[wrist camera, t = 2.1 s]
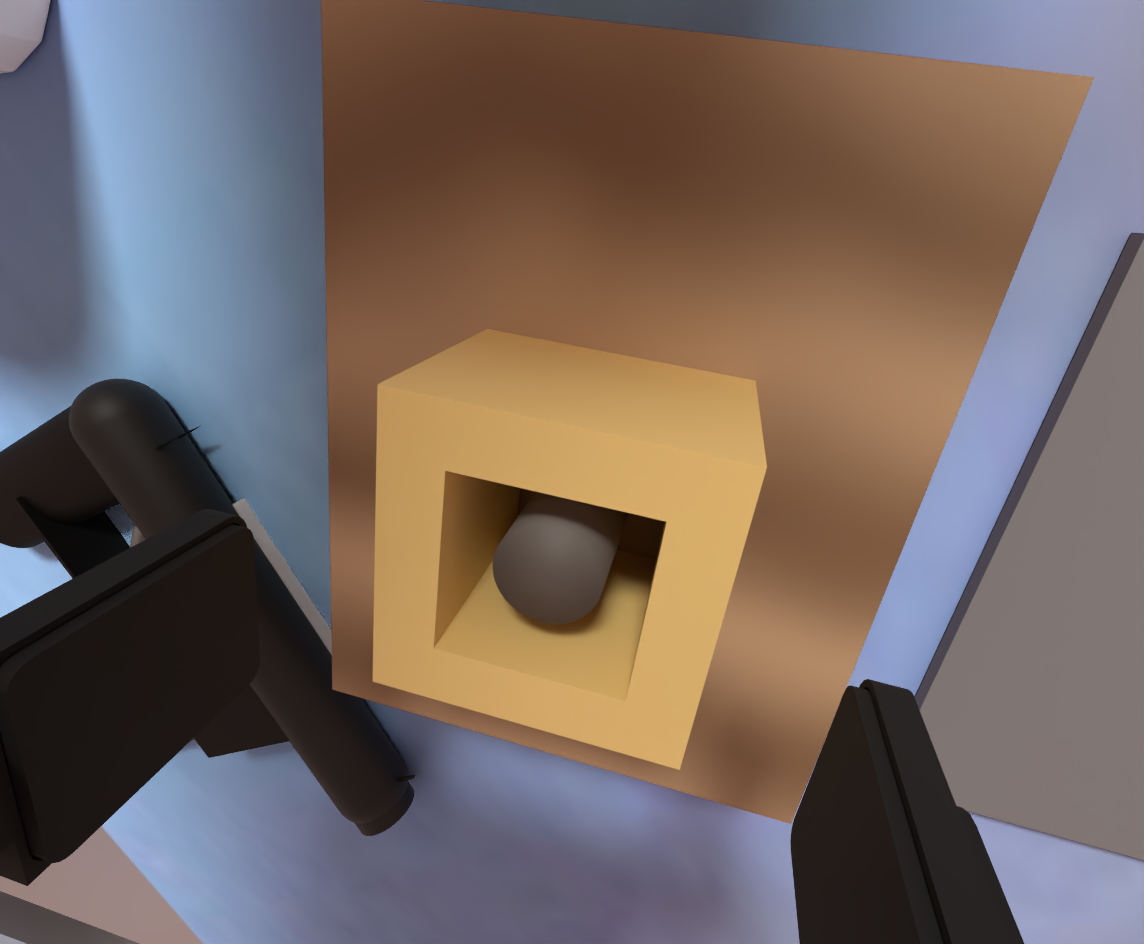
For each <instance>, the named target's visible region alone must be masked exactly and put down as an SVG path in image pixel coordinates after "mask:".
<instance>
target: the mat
mask: <svg viewBox="0 0 1144 944" xmlns="http://www.w3.org/2000/svg"><path fill="white" fill-rule="evenodd" d="M915 700H916V702H917V705H918V708H919V710H920V713H921V715H922V718H923V720H924V723H925V726H926V728H927V731H928V733H929V736H930V739H931V741H932V744H933V746H934V749H935V752H936V754H937V757H938V759H939V762H940V765H941V767H942V770H943V772H944V775H945V778H946V780H947V783H948V785H949V788H950V790H951V793H952V796H953V798H954V801H955V803H956V806H959V807H962V808H964V809H965V810H966V811H969V812H973V813H976V814H980V815H983V816H987V817H991V818H994V819H998V820H1001V821H1005V822H1009V823H1012V824H1016V825H1019V826H1023V827H1026V828H1030V829H1034V830H1037V831H1041V832H1044V833H1048V834H1052V835H1055V836H1059V837H1062V838H1066V839H1069V840H1073V841H1077V842H1080V843H1084V844H1087V845H1091V846H1095V847H1098V848H1102V849H1105V850H1109V851H1113V852H1116V853H1120V854H1123V855H1127V856H1130V857H1134V858H1138V859H1141V860H1144V234H1142V233H1131V235H1130V237H1129V239H1128V241H1127V244H1126V246H1125V248H1124V250H1123V252H1122V254H1121V256H1120V259H1119V261H1118V263H1117V265H1116V267H1115V269H1114V271H1113V274H1112V276H1111V278H1110V280H1109V282H1108V284H1107V286H1106V289H1105V291H1104V293H1103V295H1102V297H1101V299H1100V302H1099V304H1098V306H1097V308H1096V310H1095V312H1094V314H1093V317H1092V319H1091V321H1090V323H1089V325H1088V327H1087V329H1086V332H1085V334H1084V336H1083V338H1082V340H1081V342H1080V344H1079V347H1078V349H1077V351H1076V353H1075V355H1074V357H1073V359H1072V362H1071V364H1070V366H1069V368H1068V370H1067V372H1066V374H1065V377H1064V379H1063V381H1062V383H1061V385H1060V387H1059V389H1058V392H1057V394H1056V396H1055V398H1054V400H1053V402H1052V404H1051V407H1050V409H1049V411H1048V413H1047V415H1046V417H1045V419H1044V422H1043V424H1042V426H1041V428H1040V430H1039V432H1038V434H1037V437H1036V439H1035V441H1034V443H1033V445H1032V447H1031V449H1030V452H1029V454H1028V456H1027V458H1026V460H1025V462H1024V465H1023V467H1022V469H1021V471H1020V473H1019V475H1018V477H1017V480H1016V482H1015V484H1014V486H1013V488H1012V490H1011V492H1010V495H1009V497H1008V499H1007V501H1006V503H1005V505H1004V507H1003V510H1002V512H1001V514H1000V516H999V518H998V520H997V522H996V525H995V527H994V529H993V531H992V533H991V535H990V537H989V540H988V542H987V544H986V546H985V548H984V550H983V552H982V555H981V557H980V559H979V561H978V563H977V565H976V567H975V570H974V572H973V574H972V576H971V578H970V580H969V582H968V585H967V587H966V589H965V591H964V593H963V595H962V597H961V600H960V602H959V604H958V606H957V608H956V610H955V613H954V615H953V617H952V619H951V621H950V623H949V625H948V628H947V630H946V632H945V634H944V636H943V638H942V640H941V643H940V645H939V647H938V649H937V651H936V653H935V655H934V658H933V660H932V662H931V664H930V666H929V668H928V670H927V673H926V675H925V677H924V679H923V681H922V683H921V685H920V688H919V690H918V692H917V694H916V696H915Z"/></svg>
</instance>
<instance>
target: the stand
mask: <svg viewBox="0 0 1144 944" xmlns="http://www.w3.org/2000/svg"><path fill="white" fill-rule="evenodd" d="M321 13H322V75H323V137H324V199H325V262H326V324H327V386H328V449H329V511H330V573H331V635H332V689H333V690H336V691H339V692H343V693H346V694H350V695H353V696H357V697H360V698H363V699H367V700H370V701H374V702H377V703H380V704H384V705H387V706H391V707H394V708H397V709H401V710H404V711H408V712H411V713H415V714H418V715H421V716H425V717H428V718H432V719H435V720H438V721H442V722H445V723H449V724H452V725H455V726H459V727H462V728H466V729H469V730H473V731H476V732H479V733H483V734H486V735H490V736H493V737H496V738H500V739H503V740H507V741H510V742H514V743H517V744H520V745H524V746H527V747H531V748H534V749H537V750H541V751H544V752H548V753H551V754H554V755H558V756H561V757H565V758H568V759H572V760H575V761H578V762H582V763H585V764H589V765H592V766H595V767H599V768H602V769H606V770H609V771H612V772H616V773H619V774H623V775H626V776H630V777H633V778H636V779H640V780H643V781H647V782H650V783H653V784H657V785H660V786H664V787H667V788H671V789H674V790H677V791H681V792H684V793H688V794H691V795H694V796H698V797H701V798H705V799H708V800H711V801H715V802H718V803H722V804H725V805H729V806H732V807H735V808H739V809H742V810H746V811H749V812H752V813H756V814H759V815H763V816H766V817H770V818H773V819H776V820H780V821H783V822H787V823H790V824H791V822H792V820H793V817H794V815H795V812H796V810H797V807H798V805H799V803H800V800H801V798H802V795H803V793H804V790H805V788H806V785H807V783H808V780H809V778H810V775H811V773H812V771H813V768H814V766H815V763H816V761H817V758H818V756H819V753H820V751H821V748H822V746H823V743H824V741H825V738H826V736H827V734H828V731H829V729H830V726H831V724H832V721H833V719H834V716H835V714H836V711H837V709H838V706H839V704H840V701H841V699H842V696H843V694H844V692H845V689H846V687H847V684H848V682H849V679H850V677H851V674H852V672H853V670H854V667H855V665H856V662H857V660H858V657H859V655H860V652H861V650H862V647H863V645H864V642H865V640H866V638H867V635H868V633H869V630H870V628H871V625H872V623H873V620H874V618H875V615H876V613H877V610H878V608H879V605H880V603H881V601H882V598H883V596H884V593H885V591H886V588H887V586H888V583H889V581H890V578H891V576H892V573H893V571H894V569H895V566H896V564H897V561H898V559H899V556H900V554H901V551H902V549H903V546H904V544H905V541H906V539H907V537H908V534H909V532H910V529H911V527H912V524H913V522H914V519H915V517H916V514H917V512H918V509H919V507H920V504H921V502H922V500H923V497H924V495H925V492H926V490H927V487H928V485H929V482H930V480H931V477H932V475H933V472H934V470H935V468H936V465H937V463H938V460H939V458H940V455H941V453H942V450H943V448H944V445H945V443H946V440H947V438H948V436H949V433H950V431H951V428H952V426H953V423H954V421H955V418H956V416H957V413H958V411H959V408H960V406H961V404H962V401H963V399H964V396H965V394H966V391H967V389H968V386H969V384H970V381H971V379H972V376H973V374H974V371H975V369H976V367H977V364H978V362H979V359H980V357H981V354H982V352H983V349H984V347H985V344H986V342H987V339H988V337H989V335H990V332H991V330H992V327H993V325H994V322H995V320H996V317H997V315H998V312H999V310H1000V307H1001V305H1002V303H1003V300H1004V298H1005V295H1006V293H1007V290H1008V288H1009V285H1010V283H1011V280H1012V278H1013V275H1014V273H1015V271H1016V268H1017V266H1018V263H1019V261H1020V258H1021V256H1022V253H1023V251H1024V248H1025V246H1026V243H1027V241H1028V238H1029V236H1030V234H1031V231H1032V229H1033V226H1034V224H1035V221H1036V219H1037V216H1038V214H1039V211H1040V209H1041V206H1042V204H1043V202H1044V199H1045V197H1046V194H1047V192H1048V189H1049V187H1050V184H1051V182H1052V179H1053V177H1054V174H1055V172H1056V170H1057V167H1058V165H1059V162H1060V160H1061V157H1062V155H1063V152H1064V150H1065V147H1066V145H1067V142H1068V140H1069V138H1070V135H1071V133H1072V130H1073V128H1074V125H1075V123H1076V120H1077V118H1078V115H1079V113H1080V110H1081V108H1082V105H1083V103H1084V101H1085V98H1086V96H1087V93H1088V91H1089V88H1090V86H1091V83H1092V81H1093V78H1094V77H1086V76H1078V75H1069V74H1060V73H1051V72H1043V71H1034V70H1025V69H1017V68H1008V67H999V66H990V65H982V64H973V63H964V62H955V61H947V60H938V59H929V58H921V57H912V56H903V55H894V54H886V53H877V52H868V51H859V50H851V49H842V48H833V47H825V46H816V45H807V44H798V43H790V42H781V41H772V40H763V39H755V38H746V37H737V36H728V35H720V34H711V33H702V32H694V31H685V30H676V29H667V28H659V27H650V26H641V25H632V24H624V23H615V22H606V21H598V20H589V19H580V18H571V17H563V16H554V15H545V14H536V13H528V12H519V11H510V10H502V9H493V8H484V7H475V6H467V5H458V4H449V3H440V2H432V1H423V0H321ZM486 329H491V330H496V331H501V332H506V333H512V334H517V335H522V336H527V337H532V338H537V339H543V340H548V341H553V342H558V343H563V344H569V345H574V346H579V347H584V348H589V349H594V350H600V351H605V352H610V353H615V354H620V355H625V356H631V357H636V358H641V359H646V360H651V361H656V362H662V363H667V364H672V365H677V366H682V367H687V368H693V369H698V370H703V371H708V372H713V373H719V374H724V375H729V376H734V377H739V378H744V379H750V380H755V381H756V387H757V395H758V402H759V410H760V417H761V425H762V433H763V440H764V448H765V456H766V463H767V469H766V473H765V476H764V479H763V483H762V486H761V490H760V493H759V497H758V500H757V504H756V507H755V511H754V514H753V518H752V521H751V524H750V528H749V531H748V535H747V538H746V542H745V545H744V549H743V552H742V556H741V559H740V563H739V566H738V570H737V573H736V576H735V580H734V583H733V587H732V590H731V594H730V597H729V601H728V604H727V608H726V611H725V615H724V618H723V621H722V625H721V628H720V632H719V635H718V639H717V642H716V646H715V649H714V653H713V656H712V660H711V663H710V666H709V670H708V673H707V677H706V680H705V684H704V687H703V691H702V694H701V698H700V701H699V705H698V708H697V712H696V715H695V718H694V722H693V725H692V729H691V732H690V736H689V739H688V743H687V746H686V750H685V753H684V757H683V760H682V763H681V767H680V770H678V769H675V768H671V767H668V766H664V765H661V764H657V763H654V762H650V761H647V760H643V759H640V758H636V757H633V756H629V755H626V754H623V753H619V752H616V751H612V750H609V749H605V748H602V747H598V746H595V745H591V744H588V743H584V742H581V741H577V740H574V739H570V738H567V737H563V736H560V735H557V734H553V733H550V732H546V731H543V730H539V729H536V728H532V727H529V726H525V725H522V724H518V723H515V722H511V721H508V720H504V719H501V718H498V717H494V716H491V715H487V714H484V713H480V712H477V711H473V710H470V709H466V708H463V707H459V706H456V705H452V704H449V703H445V702H442V701H439V700H435V699H432V698H428V697H425V696H421V695H418V694H414V693H411V692H407V691H404V690H400V689H397V688H393V687H390V686H386V685H383V684H379V683H376V682H373V627H374V568H375V509H376V450H377V390H378V384H379V383H381V382H383V381H385V380H387V379H389V378H391V377H393V376H395V375H397V374H399V373H401V372H403V371H405V370H407V369H409V368H411V367H413V366H415V365H417V364H419V363H421V362H423V361H425V360H427V359H429V358H431V357H433V356H435V355H437V354H439V353H441V352H442V351H444V350H446V349H448V348H450V347H452V346H454V345H456V344H458V343H460V342H462V341H464V340H466V339H468V338H470V337H472V336H474V335H476V334H478V333H480V332H482V331H484V330H486ZM664 523H665V521H661V520H657V519H653V518H648V517H644V516H640V515H635V514H631V513H627V512H622V511H618V510H614V509H609V508H605V507H601V506H596V505H592V504H588V503H583V502H579V501H575V500H570V499H566V498H562V497H557V496H553V495H549V494H544V493H540V492H536V491H531V490H527V489H523V488H520V496H519V505H518V513H517V519H516V520H515V522H514V523H513V525H512V526H511V528H510V529H509V530H508V532H507V533H506V535H505V536H504V538H503V539H502V541H501V542H500V544H499V545H498V547H497V549H496V551H495V554H494V558H493V575H494V579H495V582H496V585H497V587H498V589H499V591H500V593H501V594H502V596H503V597H504V599H505V600H506V601H507V602H508V603H509V604H510V605H511V606H512V607H513V608H514V609H516V610H517V611H518V612H520V613H521V614H523V615H525V616H526V617H529V618H531V619H533V620H536V621H539V622H544V623H550V624H563V623H569V622H573V621H576V620H578V619H580V618H582V617H584V616H585V615H587V614H588V613H589V612H590V611H591V610H592V609H593V608H594V607H595V606H596V604H597V603H598V601H599V599H600V597H601V594H602V591H603V588H604V585H605V582H606V579H607V576H608V574H609V571H610V568H611V565H612V562H613V559H614V556H615V553H616V550H618V551H622V552H626V553H630V554H634V555H639V556H643V557H647V558H651V559H655V560H656V558H657V554H658V550H659V545H660V541H661V536H662V532H663V528H664Z"/></svg>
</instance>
